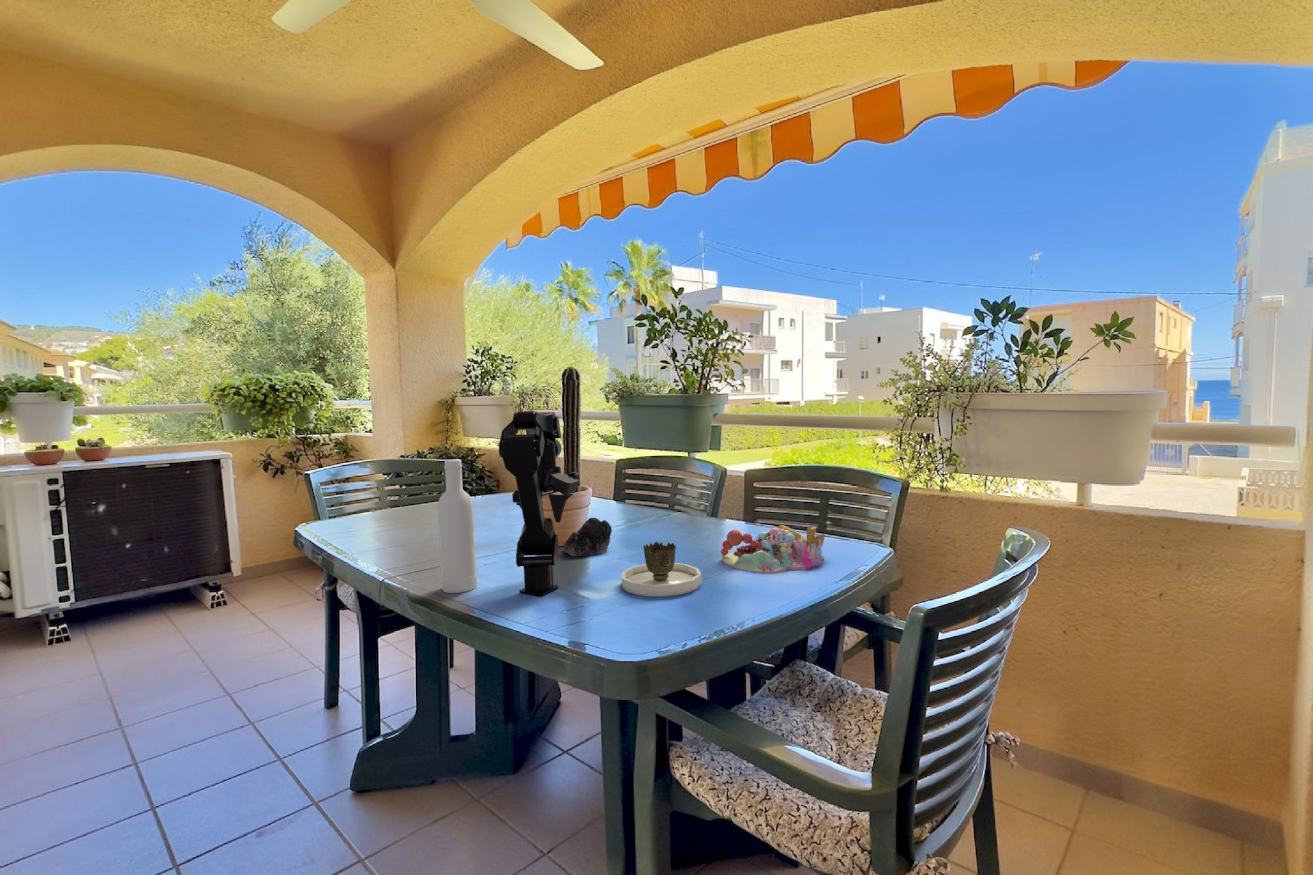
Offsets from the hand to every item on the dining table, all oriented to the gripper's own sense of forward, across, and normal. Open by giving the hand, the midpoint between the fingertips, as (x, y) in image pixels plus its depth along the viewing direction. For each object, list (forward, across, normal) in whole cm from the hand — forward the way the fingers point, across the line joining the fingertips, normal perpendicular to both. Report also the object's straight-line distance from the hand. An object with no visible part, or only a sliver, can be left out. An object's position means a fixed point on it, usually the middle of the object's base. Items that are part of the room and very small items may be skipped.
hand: (547, 525), depth 149 cm
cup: (+11, +2, -30) cm, 32 cm away
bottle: (+12, -17, +13) cm, 25 cm away
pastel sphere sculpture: (+13, +30, -49) cm, 59 cm away
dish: (+12, +2, -30) cm, 32 cm away
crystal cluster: (+12, +23, +4) cm, 26 cm away
